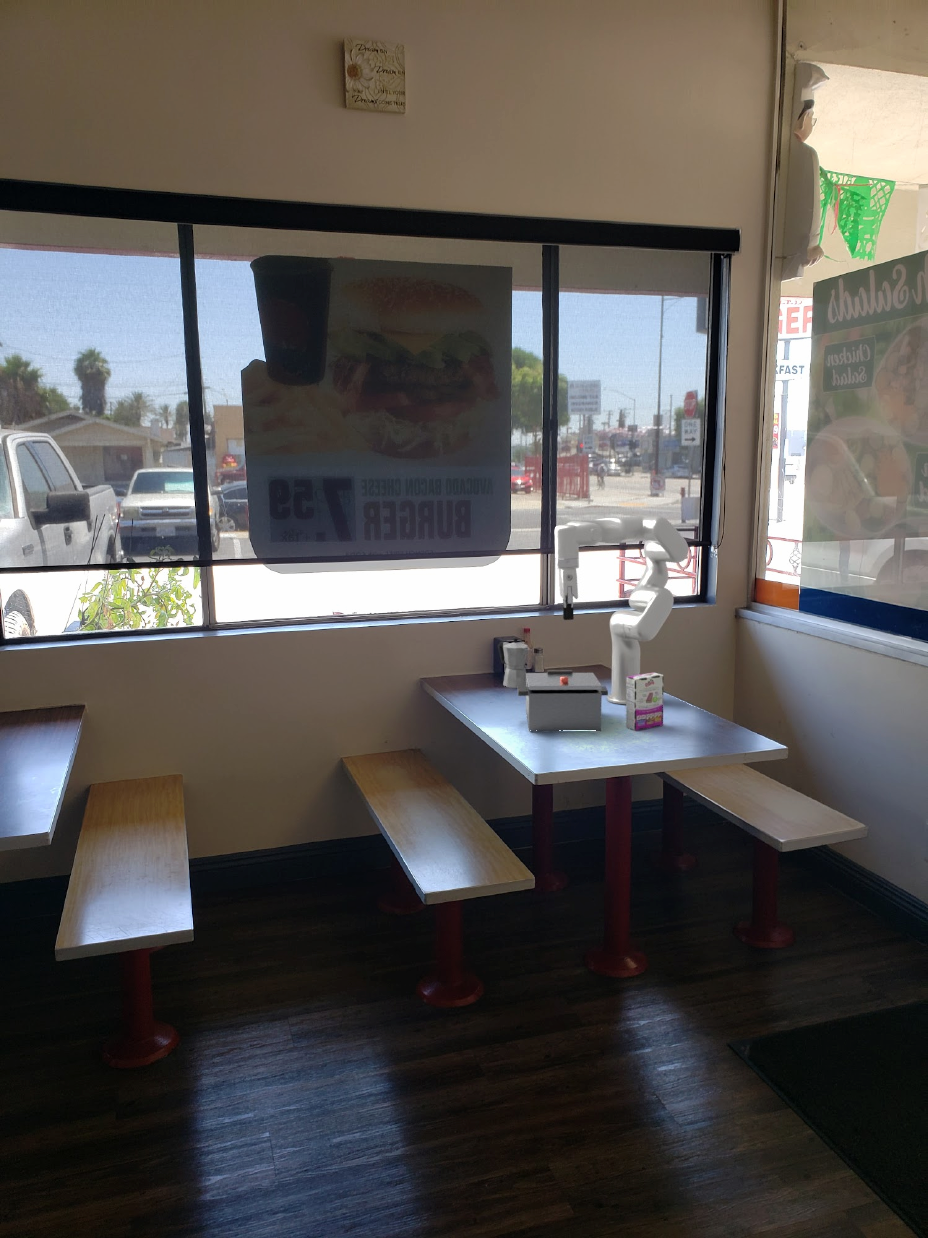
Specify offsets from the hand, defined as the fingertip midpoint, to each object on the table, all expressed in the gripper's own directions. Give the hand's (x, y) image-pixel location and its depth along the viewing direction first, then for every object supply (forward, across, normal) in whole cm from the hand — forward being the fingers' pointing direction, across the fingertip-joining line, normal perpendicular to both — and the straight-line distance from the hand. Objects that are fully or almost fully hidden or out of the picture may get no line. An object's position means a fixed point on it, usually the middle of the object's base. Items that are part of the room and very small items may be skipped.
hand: (568, 619), depth 292 cm
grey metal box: (+31, -12, +4) cm, 33 cm away
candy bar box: (+32, -19, -20) cm, 42 cm away
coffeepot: (+32, +38, +16) cm, 52 cm away
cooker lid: (+18, -11, +4) cm, 22 cm away
